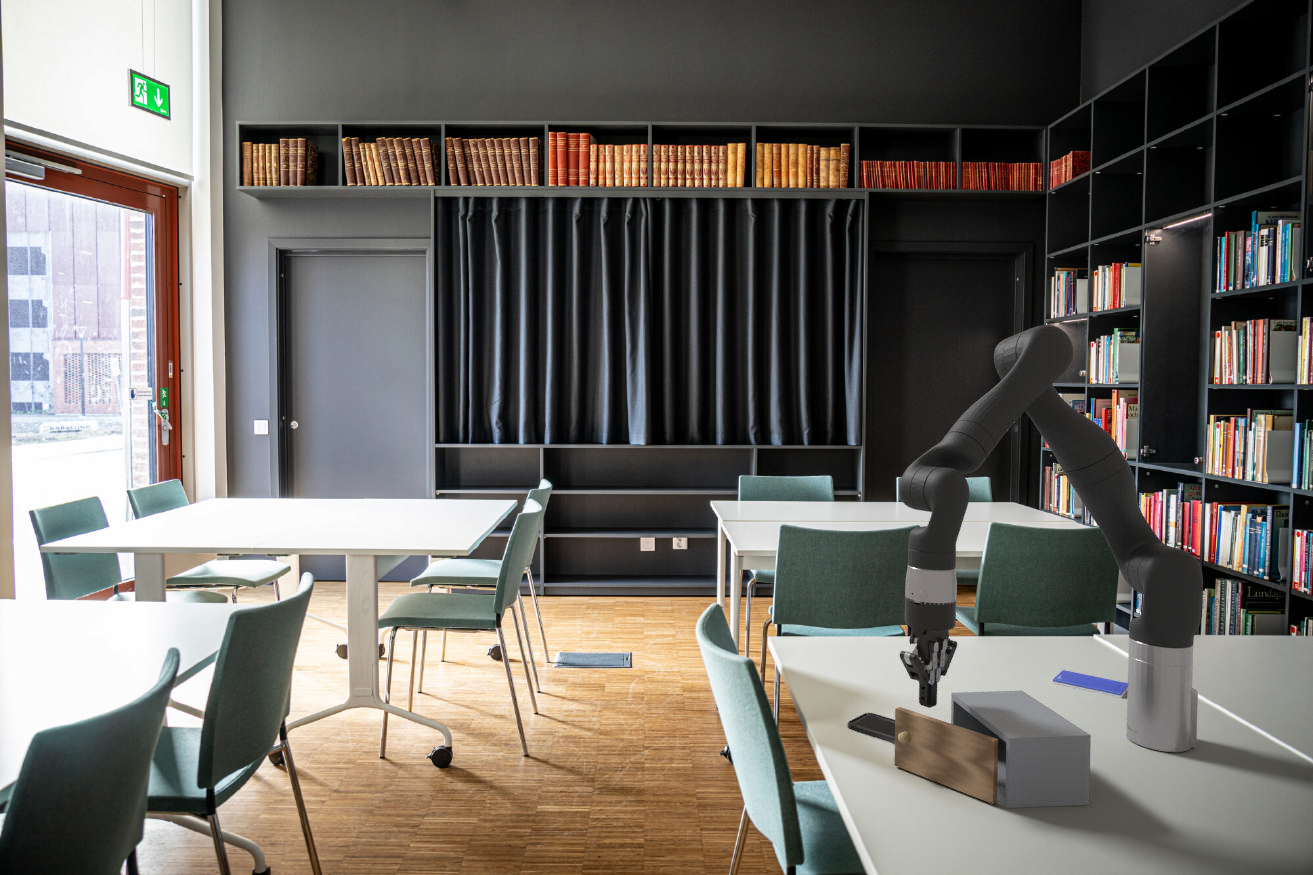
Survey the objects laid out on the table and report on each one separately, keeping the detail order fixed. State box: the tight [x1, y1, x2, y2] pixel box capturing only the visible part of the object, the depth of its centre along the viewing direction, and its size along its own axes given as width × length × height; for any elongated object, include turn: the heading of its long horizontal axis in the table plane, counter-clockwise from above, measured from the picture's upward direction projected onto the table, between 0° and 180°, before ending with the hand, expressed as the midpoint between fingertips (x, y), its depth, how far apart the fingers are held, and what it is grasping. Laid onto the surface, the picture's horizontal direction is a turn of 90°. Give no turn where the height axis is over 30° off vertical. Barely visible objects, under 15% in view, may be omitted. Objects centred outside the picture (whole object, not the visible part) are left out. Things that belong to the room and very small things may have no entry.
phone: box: [847, 712, 895, 745], centre depth 139 cm, size 8×1×15 cm
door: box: [893, 706, 998, 805], centre depth 120 cm, size 16×2×9 cm, turn 40°
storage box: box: [950, 690, 1092, 809], centre depth 123 cm, size 12×18×10 cm, turn 5°
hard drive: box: [1052, 669, 1128, 699], centre depth 164 cm, size 2×8×12 cm
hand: (927, 705), depth 126 cm, fingers closed
